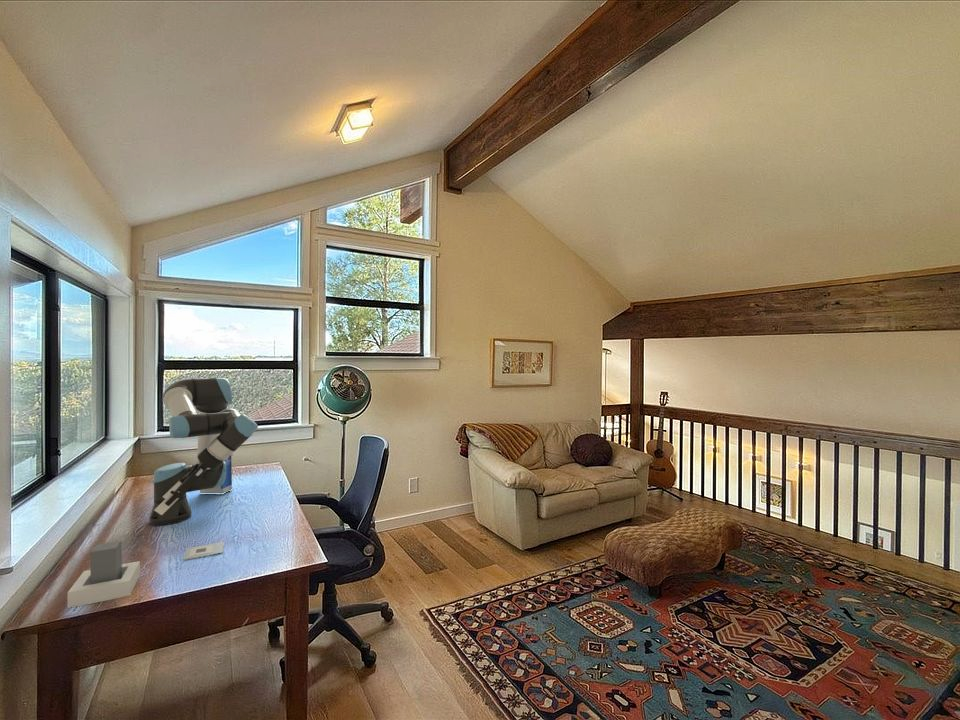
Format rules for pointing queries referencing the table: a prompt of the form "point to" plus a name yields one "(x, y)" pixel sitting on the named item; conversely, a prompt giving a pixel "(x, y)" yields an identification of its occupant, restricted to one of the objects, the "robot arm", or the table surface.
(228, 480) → the string lights box
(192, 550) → the card
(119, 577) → the charcoal pillar
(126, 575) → the socket base
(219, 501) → the table surface
